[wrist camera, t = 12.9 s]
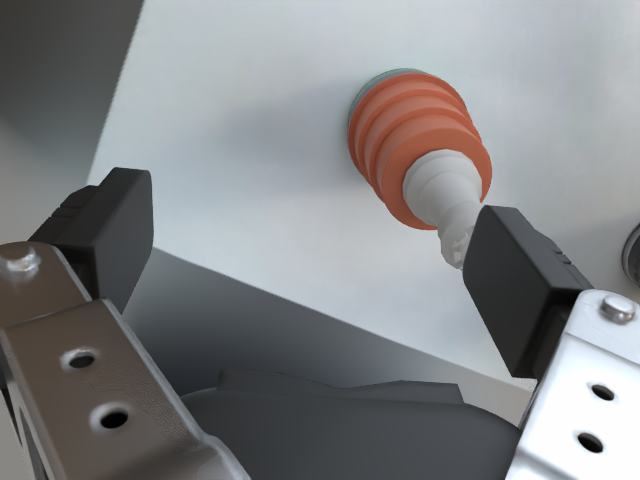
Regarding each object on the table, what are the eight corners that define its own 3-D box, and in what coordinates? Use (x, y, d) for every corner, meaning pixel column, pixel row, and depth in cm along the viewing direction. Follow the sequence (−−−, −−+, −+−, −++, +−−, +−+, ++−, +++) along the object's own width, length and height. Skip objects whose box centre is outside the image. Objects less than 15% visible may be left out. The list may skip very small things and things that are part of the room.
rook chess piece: (430, 228, 31) (468, 308, 24) (385, 180, 30) (413, 251, 23) (490, 183, 30) (549, 253, 23) (447, 130, 28) (496, 188, 21)
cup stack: (432, 41, 37) (485, 76, 27) (472, 144, 41) (530, 208, 31) (324, 99, 39) (335, 153, 29) (372, 192, 43) (397, 268, 33)
